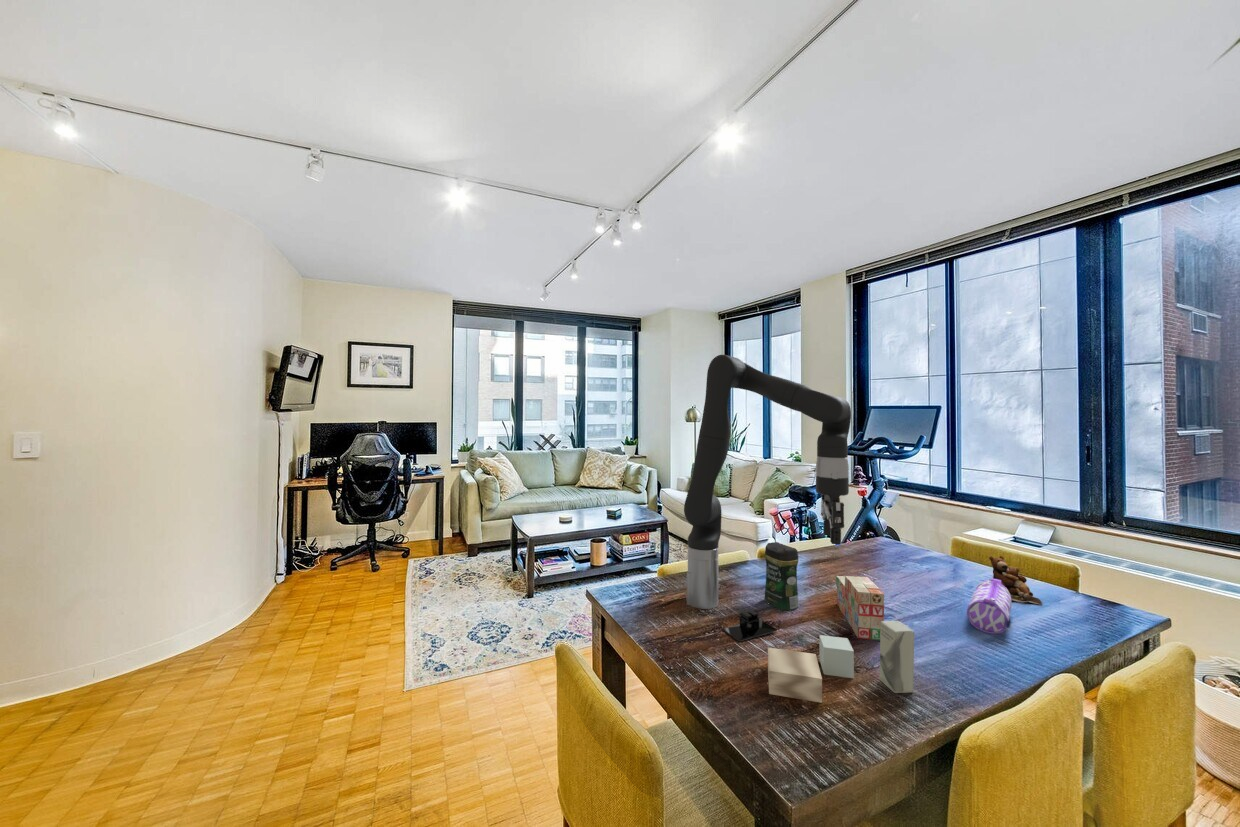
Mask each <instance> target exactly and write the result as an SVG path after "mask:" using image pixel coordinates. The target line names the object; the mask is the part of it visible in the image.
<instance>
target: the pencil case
mask: <svg viewBox="0 0 1240 827" xmlns="http://www.w3.org/2000/svg"><path fill="white" fill-rule="evenodd" d="M990 580H991V581H989V579H988V580H983V581H980V582H979V583H978V584H977V586H976V587H975V590H974V592H973V593H972V596H971V599H970V601H969V603H968V605H967V609H966V615H967V619H968V621H969V623H970V625H972V627H974V628H976V629H977V630H979V631H980V632H984V633H986V634H987V633H988V634H992V635H999V634H1002V633H1004V632H1005V631H1006V630H1007V629H1010V627H1011V623H1012V621H1011V620H1010V612H1011V610H1012V600H1011V595H1010V593H1009V591H1008V589H1007V588H1006V587H1005V586H1003V585H1002V584H1001V580H998V579H993V577H992V578H990Z"/></svg>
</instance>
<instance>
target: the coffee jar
mask: <svg viewBox="0 0 1240 827" xmlns="http://www.w3.org/2000/svg"><path fill="white" fill-rule="evenodd" d="M764 559H765V565H766V566H765V568H766V570H765V573H766V574H765V587H764V588H765V589H764V602H765V603H766V604H768V603H769V604H768V605H770V606H771V605H772V607H774V608H775V609H778V610H780V611H794V610H796V609H798V608H799V593H798V592H799V591H798V577H797V576H798V574H797V571H798V565H799V551H798V549H796V548H795V547H792V546H789V545H786V544H783V543H781V542H778V541H774V542H768V543H767V544H765V549H764Z"/></svg>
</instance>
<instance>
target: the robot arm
mask: <svg viewBox="0 0 1240 827" xmlns="http://www.w3.org/2000/svg"><path fill="white" fill-rule="evenodd" d="M733 388H734V389H739V390H745V391H750V392H753V393H755V394H758V395H759V396H762V397H764V398H765V399H768V400H769V401H772V402H773V403H775V404H777V405H779V406H782V407H785V408H788V409H790V410H793V411H795V412H799V413H801V414H804V415H805V416H807V417H809V418H812V419H814V420H816V421H817V422H820V423H822V424H821V425H822V426H821V433H820V434H819V436H818V437H817V441H816V461H815V462H816V463H815V492H816V493H817V494H818V495H819V494H820V495H821V496H820V497H821V503H820V504H821V506H820V507H821V510H820V515H821V517H822V518H821V520H823V534H824V536H830V541H829V542H830V543H831V544H832V545H841V544H842V529H845V510H844V509H845V508H844V507H845V504H844V502H841V498H840V497H842V496H843V497H844V496H848V494H850V493H849V491H850V490H849V489H850V488H849V487H850V486H849V483H850V482H849V481H850V478H849V477H850V476H849V474H850V472H849V470H850V469H849V460H848V457H849V456H848V454H849V451H848V450H849V449H848V447H849V446H848V437H849V432H850V427H851V421H852V411H851V410H852V408H851V406H850V403H849V402H848V401H847V399H845V398H844V397H842V396H836V395H831V394H827V393H824V392H820V391H817V390H814V389H812V388H811V387H809V386H807V385H805V384H801V383H800V382H796V381H792V380H789V379H788V378H787V379H786V378H783V377H779V376H776V375H772V374H769V373H765V372H763V371H761V370H759V369H756V368H755V367H753V366H751V365H749V364H748V363H746V362H744V361H743V360H741V359H740V358H738V357H735V356H731V355H727V354H718V355H716V356H715V357H713V359H712V360H711V361H710V363H709V365H708V367H707V372H706V386H705V398H704V406H703V410H702V411H703V412H702V417H701V423H700V429H699V434H698V438H697V444H696V452H695V456H694V457H695V458H694V462H693V469H692V476H691V480H690V483H689V487H688V491H687V494H686V497H685V501H684V506H683V514H684V516H685V519H686V521H687V522H688V524H689V525H691V526H692V528H691V530H690V533H689V535H687V536H688V537H687V571H686V605H687V606H690V607H693V608H696V609H702V610H711V609H712V610H713V609H715V608H717V607H718V606H719V599H720V598H719V541H720V538H721V535H722V506H721V505H722V504H721V502H720V500H719V498H718V496H716V495H715V494H714V490H715V484H716V482H717V479H718V476H719V475H720V472H721V470H722V468H723V466H724V464H725V461H726V459H727V456H728V454H729V453H728V452H729V448H730V442H731V437H732V436H731V435H732V429H731V428H732V427H731V426H732V425H731V420H730V415H729V407H728V406H729V399H730V398H729V397H730V394H731V393H730V392H731V389H733Z"/></svg>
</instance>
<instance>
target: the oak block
mask: <svg viewBox="0 0 1240 827" xmlns="http://www.w3.org/2000/svg"><path fill="white" fill-rule="evenodd" d="M767 677H768V678H767V679H768V694H769V695H773V696H774V695H775V696H779V697H780V696H781V697H785V698H792V699H798V700H804V701H809V702H815V703H823V677H822V674H821V669H820V666H819V662H818V658H817V654H816V653H811V652H804V651H803V652H802V651H795V650H790V649H788V650H787V649H784V648H783V649H782V648H775V647H767Z"/></svg>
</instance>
